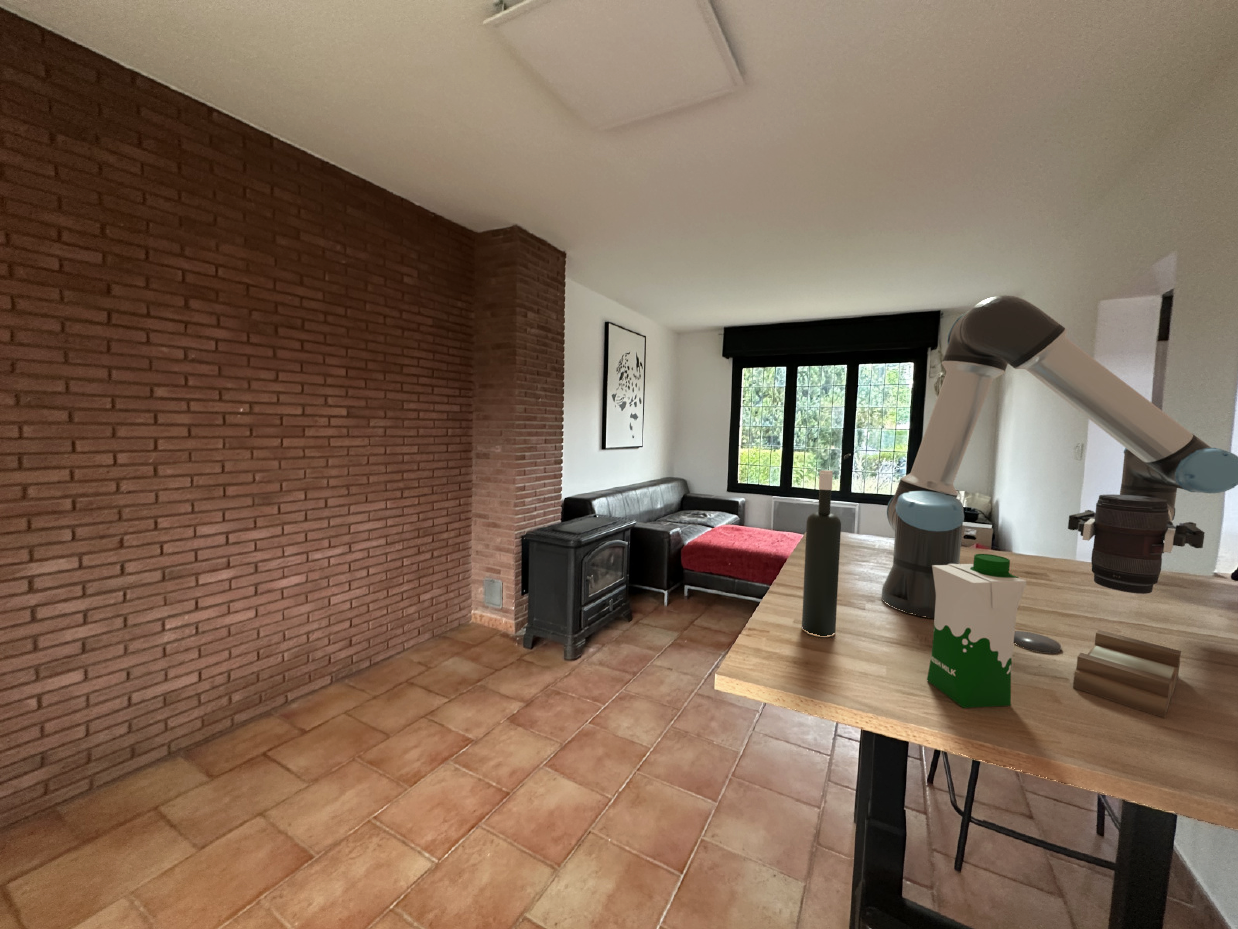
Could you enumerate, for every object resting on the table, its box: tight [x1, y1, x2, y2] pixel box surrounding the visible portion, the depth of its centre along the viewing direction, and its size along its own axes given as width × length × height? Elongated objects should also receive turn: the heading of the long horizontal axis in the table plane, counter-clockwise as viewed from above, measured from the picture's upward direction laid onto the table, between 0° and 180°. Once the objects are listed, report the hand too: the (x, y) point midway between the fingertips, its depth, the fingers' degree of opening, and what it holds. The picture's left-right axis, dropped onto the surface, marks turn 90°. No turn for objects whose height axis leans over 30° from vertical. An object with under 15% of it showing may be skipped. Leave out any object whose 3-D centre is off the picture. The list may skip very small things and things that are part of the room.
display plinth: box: [1072, 629, 1182, 719], centre depth 72 cm, size 17×9×4 cm, turn 127°
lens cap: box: [1013, 630, 1062, 654], centre depth 85 cm, size 7×7×1 cm
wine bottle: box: [801, 469, 842, 636], centre depth 88 cm, size 6×6×30 cm
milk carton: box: [926, 553, 1027, 709], centre depth 69 cm, size 9×9×20 cm
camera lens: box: [1090, 494, 1169, 595], centre depth 79 cm, size 8×8×15 cm
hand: (1125, 537), depth 76 cm, fingers closed on camera lens, 8 cm apart
